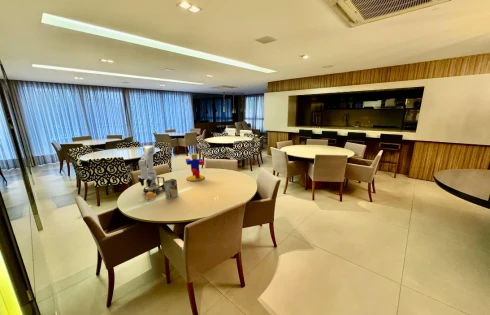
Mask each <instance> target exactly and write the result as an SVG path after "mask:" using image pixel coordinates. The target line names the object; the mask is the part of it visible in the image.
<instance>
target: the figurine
mask: <svg viewBox="0 0 490 315" xmlns="http://www.w3.org/2000/svg"><path fill="white" fill-rule="evenodd" d="M190 156H191V159H190V158H185V163H186V165H187V166H189V165H190V170H191V173H192V175H190V176H187V178H186V179H185V180H186V181H187V182H189V181H190V183H198V182H202V181H205V179H206V176H205V175H201V173H200V166H204V165H205V161H204V159H203V158H198V154H197V153H191V154H190ZM197 181H198V182H197Z"/></svg>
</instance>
